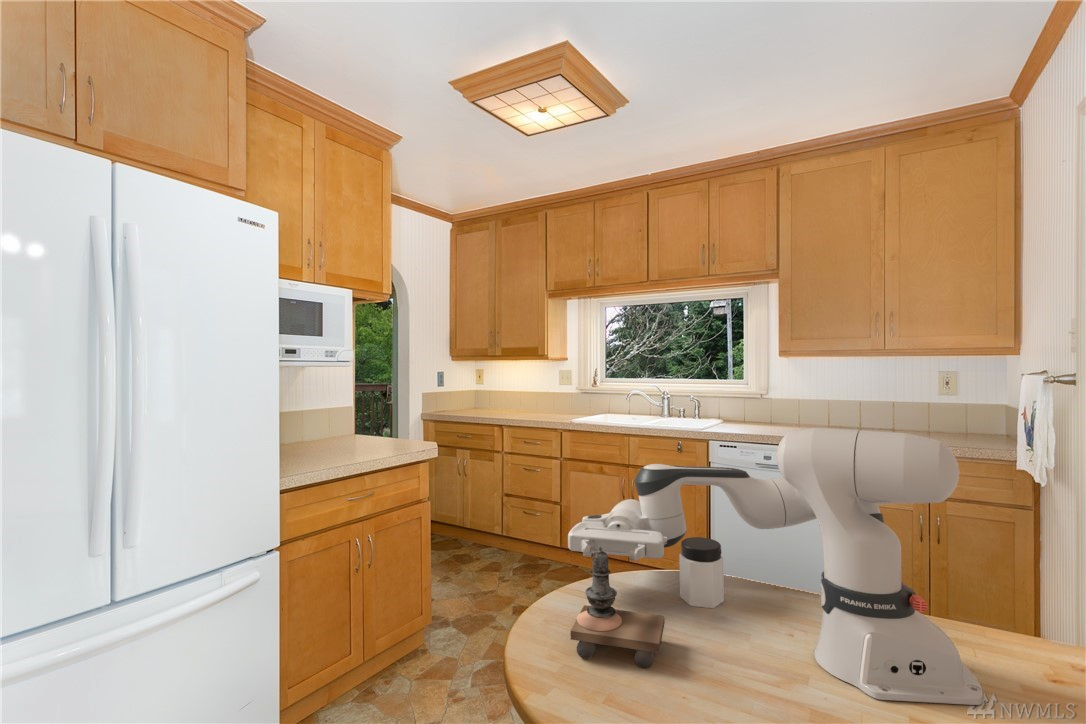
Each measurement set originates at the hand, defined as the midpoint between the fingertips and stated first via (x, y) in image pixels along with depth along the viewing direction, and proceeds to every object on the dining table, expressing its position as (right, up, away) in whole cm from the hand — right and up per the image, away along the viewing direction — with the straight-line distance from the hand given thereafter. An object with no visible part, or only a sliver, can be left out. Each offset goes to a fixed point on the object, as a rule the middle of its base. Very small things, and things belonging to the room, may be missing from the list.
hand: (609, 554), depth 106 cm
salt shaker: (-2, -8, -8) cm, 11 cm away
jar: (+20, -12, +7) cm, 25 cm away
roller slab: (0, -12, -12) cm, 17 cm away
